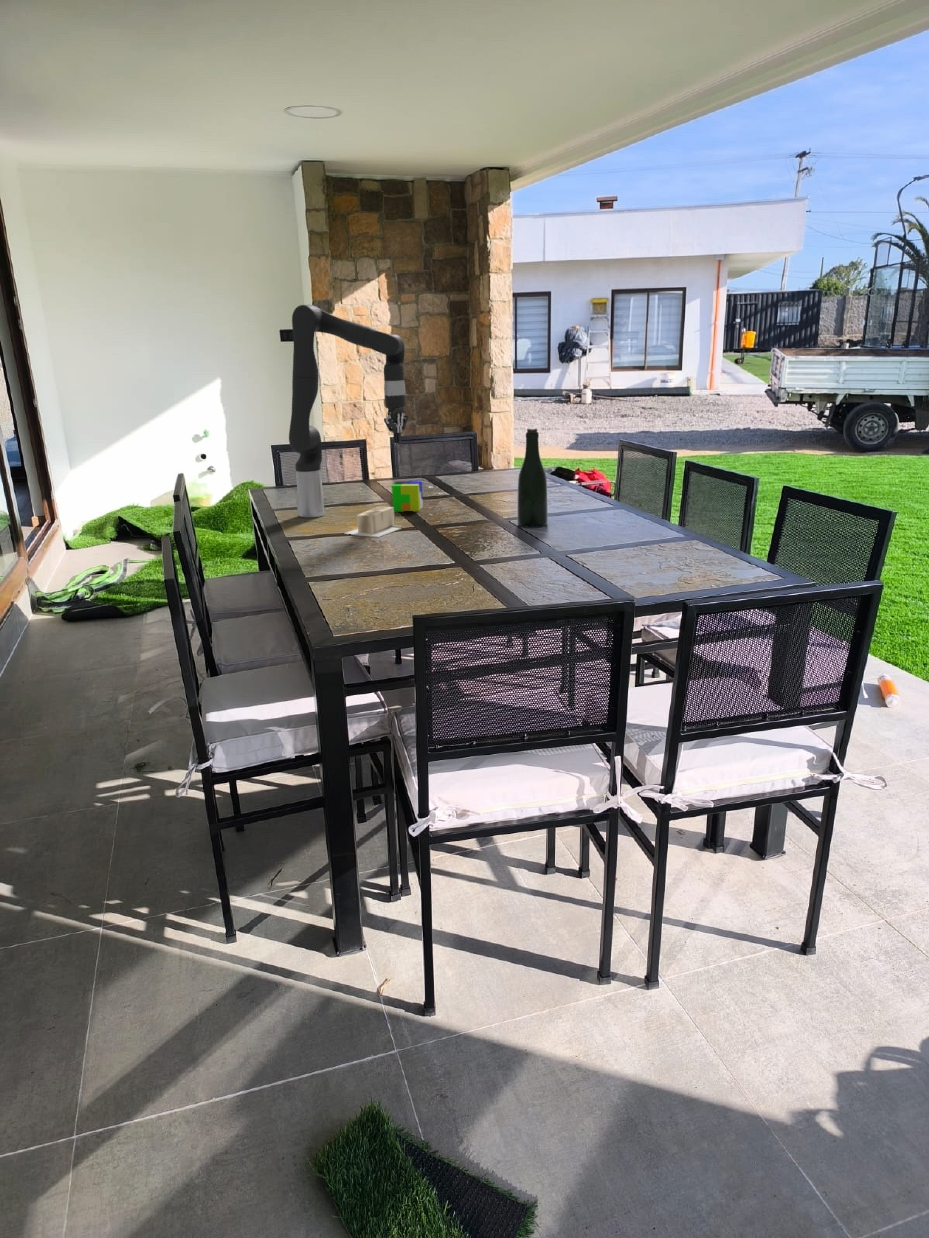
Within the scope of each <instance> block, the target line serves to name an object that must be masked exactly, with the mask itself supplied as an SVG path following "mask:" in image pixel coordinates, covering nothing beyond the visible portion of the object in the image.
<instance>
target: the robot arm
mask: <svg viewBox="0 0 929 1238" xmlns="http://www.w3.org/2000/svg"><path fill="white" fill-rule="evenodd" d="M291 326H292V339H293V354H292V355H293V357H292V359H293V360H292V381H291V382H292V384H291V388H292V389H291V391H292V394H291V395H292V396H291V398H292V399H291V417H290V424H289V432H288V442H289V445H290V448H291V449H292V451H294V452H296V453H298V454H299V458H298V460H297V461H296V462H295V476H296V477H295V478H296V487H297V490H296V491H295V498H296V508H297V510H296V511H297V516H299V517H301V518H319V517H323V516H325V504H324V503H325V502H324V493H323V491H324V489H323V482H322V468H321V464H322V462H323V456H322V455H323V450H322V449H323V448H322V447H323V446H322V438H321V434H320V431H319V430H318V428H316V427H315V426H313V425H310V417H311V411H312V409H313V406H314V404H315V401H316V399H317V396H318V391H319V379H320V378H319V376H320V375H319V368H318V362H317V358H316V355H315V344H314V343H315V333H323V334H330V335H332V336H335V337H338V338H340V339H342V340H344V341H346V342H348V343H350V344H353V345H356V346H359V347H363V348H366V349H370V350H373V351H374V352H378V353H380V354H382V355H384V356H385V364H383V365H384V366H383V380H384V383H383V394H384V407H385V408H386V409H387V417H385V418H384V419H383V422H384V423H385V425H386V427H387V430H388V431H389V432H391V433H392V434H393V443H394V444H395V445H396V444H398V445H399V444H401V443H402V432H403V431H404V430H405V429H406V426H407V423H408V420H409V415H407V414H405V410H404V408H406V407H407V395H406V385H405V373H404V371H405V370H404V364H405V361H404V360H405V350H406V348H405V343H404V342H405V341H404V340H403V338H402V337H401V336H400V335H398V334H390V333H387V332H383V331H380V330H377V329H375V328H373V327H371V326H368V325H364V324H361V323H358V322H353V321H350V320H347V319H344V318H341V317H337V316H336V315H334V314H330V313H329V312H327V311H325V310H322V308H319V307H317V306H315V305H313V304H300V305H298V306H296V307H295V309H294V310H293V312H292V316H291Z"/></svg>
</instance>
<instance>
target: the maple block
mask: <svg viewBox="0 0 929 1238" xmlns="http://www.w3.org/2000/svg"><path fill="white" fill-rule="evenodd" d="M356 524H357V529H358V532H360V533H370V534H373V533H375V532H378V531H380V530H382V529H385V528H387V527H389V526H391V525H396V515H395V512H394V507H393V506H385V505H379V506H376V507H374V508H370V509H369V510H367V511H364V512H361V513H359V514H357V515H356Z"/></svg>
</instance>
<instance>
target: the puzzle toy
mask: <svg viewBox="0 0 929 1238" xmlns="http://www.w3.org/2000/svg"><path fill="white" fill-rule="evenodd" d="M422 483H423V482H422V480H413V481H411V480H410V481H407V480H406V481H404V480H403V481H399V480H398V481H395V482H394V483H393V484H392V485H391V493H392V494H391V497H392V507H394V512H397V513H398V512H403V513H404V511H413V512H420V511H419V510H420V509H422V508H423V507H424V504H423V503H424V501H423V484H422Z"/></svg>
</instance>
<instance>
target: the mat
mask: <svg viewBox="0 0 929 1238" xmlns="http://www.w3.org/2000/svg"><path fill="white" fill-rule="evenodd" d="M400 530H403V525H396V524H394V525H391V526H389V527H387V528H385V529H382V530H380V531H378V532H375V533H373V534H370V533H360V532H358V528H356V529H355V528H354V529H352V530H349V531H346V532H343V533H344V535H349V534H351V535H352V536H360V537H371V538H380V537H384V536H386V535H388V534H391V533H394V532H396V531H400Z"/></svg>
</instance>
